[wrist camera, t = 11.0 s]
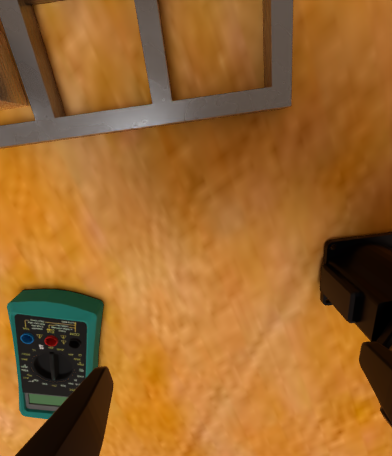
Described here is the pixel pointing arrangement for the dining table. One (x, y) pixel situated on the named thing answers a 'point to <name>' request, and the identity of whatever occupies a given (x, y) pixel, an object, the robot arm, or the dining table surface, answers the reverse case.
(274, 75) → the rail frame
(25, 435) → the dining table surface
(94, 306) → the digital multimeter
